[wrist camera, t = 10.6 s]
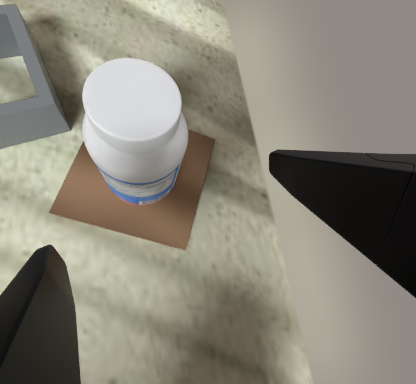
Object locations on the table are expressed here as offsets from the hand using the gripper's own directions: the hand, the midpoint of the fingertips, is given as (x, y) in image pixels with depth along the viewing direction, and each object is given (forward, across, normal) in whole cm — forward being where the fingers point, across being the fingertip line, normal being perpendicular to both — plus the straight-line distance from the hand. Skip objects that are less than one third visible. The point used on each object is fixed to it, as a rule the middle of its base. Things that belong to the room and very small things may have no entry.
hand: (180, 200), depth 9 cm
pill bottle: (+10, 0, +4) cm, 11 cm away
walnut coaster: (+11, 0, +4) cm, 11 cm away
